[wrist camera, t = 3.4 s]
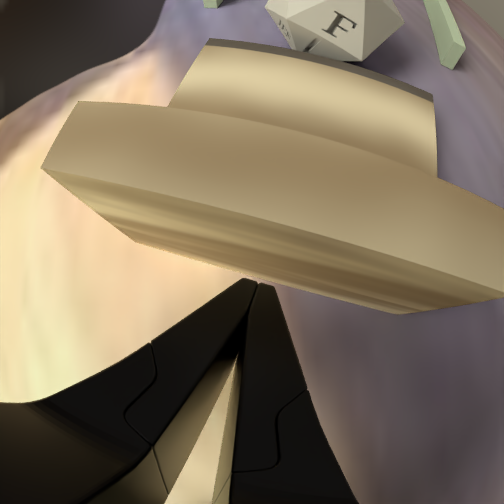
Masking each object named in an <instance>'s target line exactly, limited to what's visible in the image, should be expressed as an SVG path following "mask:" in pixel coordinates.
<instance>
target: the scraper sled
mask: <svg viewBox="0 0 504 504" xmlns="http://www.w3.org/2000/svg"><path fill="white" fill-rule="evenodd" d="M41 169H43V170H44V171H45V172H46V173H47V174H49V175H50V176H51V177H52V178H53V179H55V180H56V181H57V182H58V183H60V184H61V185H62V186H63V187H64V188H66V189H67V190H68V191H69V192H71V193H72V194H73V195H74V196H76V197H77V198H78V199H79V200H81V201H82V202H83V203H85V204H86V205H87V206H88V207H90V208H91V209H92V210H94V211H95V212H96V213H97V214H99V215H100V216H101V217H103V218H104V219H105V220H107V221H108V222H109V223H111V224H112V225H113V226H114V227H116V228H117V229H118V230H120V231H121V232H122V233H124V234H125V235H127V236H128V237H129V238H131V239H132V240H133V241H135V242H137V243H140V244H143V245H146V246H150V247H153V248H156V249H160V250H163V251H167V252H170V253H173V254H177V255H180V256H183V257H187V258H190V259H194V260H197V261H201V262H204V263H207V264H211V265H214V266H218V267H221V268H225V269H228V270H232V271H235V272H239V273H242V274H246V275H250V276H253V277H257V278H260V279H264V280H268V281H271V282H275V283H278V284H282V285H286V286H289V287H293V288H297V289H300V290H304V291H308V292H312V293H315V294H319V295H323V296H327V297H330V298H334V299H338V300H342V301H346V302H350V303H353V304H357V305H361V306H365V307H369V308H373V309H377V310H381V311H385V312H389V313H393V314H397V315H399V314H407V313H414V312H422V311H429V310H435V309H442V308H448V307H455V306H461V305H466V304H472V303H478V302H483V301H488V300H493V299H499V298H503V297H504V209H503V208H501V207H499V206H497V205H495V204H493V203H491V202H489V201H487V200H485V199H483V198H481V197H479V196H477V195H475V194H473V193H471V192H469V191H467V190H464V189H462V188H460V187H458V186H456V185H453V184H451V183H449V182H447V181H444V180H442V179H440V178H437V145H436V127H435V114H434V104H433V95H432V94H430V93H428V92H426V91H424V90H421V89H419V88H416V87H414V86H412V85H409V84H407V83H404V82H402V81H399V80H396V79H394V78H391V77H388V76H386V75H383V74H380V73H377V72H374V71H371V70H368V69H365V68H362V67H359V66H355V65H352V64H349V63H345V62H342V61H338V60H334V59H331V58H327V57H323V56H319V55H315V54H310V53H306V52H301V51H297V50H292V49H287V48H281V47H276V46H270V45H264V44H257V43H250V42H242V41H234V40H224V39H213V38H210V39H209V40H208V41H207V43H206V44H205V46H204V47H203V49H202V50H201V52H200V54H199V55H198V57H197V58H196V60H195V61H194V63H193V64H192V66H191V68H190V69H189V71H188V73H187V74H186V76H185V77H184V79H183V81H182V82H181V84H180V86H179V87H178V89H177V91H176V93H175V94H174V96H173V98H172V100H171V101H170V103H169V105H168V107H160V106H151V105H140V104H127V103H112V102H88V101H78V103H77V104H76V106H75V107H74V109H73V110H72V112H71V114H70V115H69V117H68V119H67V120H66V122H65V124H64V125H63V127H62V129H61V130H60V132H59V134H58V136H57V137H56V139H55V141H54V143H53V145H52V147H51V148H50V150H49V152H48V154H47V156H46V158H45V160H44V162H43V164H42V166H41Z"/></svg>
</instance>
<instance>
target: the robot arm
mask: <svg viewBox="0 0 504 504" xmlns="http://www.w3.org/2000/svg"><path fill="white" fill-rule="evenodd" d="M237 355H238V356H237ZM236 358H237V360H236ZM235 361H236V364H235V369H234V375H233V381H232V387H231V393H230V399H229V405H228V411H227V417H226V422H225V428H224V434H223V440H222V446H221V452H220V458H219V464H218V470H217V475H216V481H215V487H214V493H213V499H212V504H359V503H358V501H357V500H356V498H355V496H354V494H353V493H352V491H351V489H350V486H349V484H348V482H347V480H346V478H345V476H344V474H343V472H342V470H341V468H340V466H339V464H338V462H337V460H336V458H335V456H334V454H333V451H332V449H331V447H330V445H329V443H328V441H327V438H326V436H325V434H324V432H323V429H322V427H321V425H320V422H319V420H318V417H317V414H316V411H315V408H314V406H313V403H312V400H311V396H310V393H309V391H308V390H307V384H306V381H305V378H304V375H303V372H302V369H301V366H300V363H299V360H298V357H297V354H296V350H295V347H294V344H293V341H292V338H291V335H290V332H289V329H288V326H287V323H286V320H285V317H284V314H283V311H282V308H281V305H280V302H279V299H278V296H277V293H276V290H275V287H274V286H271V285H267V284H264V283H259V284H258V283H257V282H256V281H253V280H249V279H246V278H242V279H240V280H239V281H237V282H236V283H235V284H233V285H232V286H230V287H229V288H227V289H226V290H224V291H223V292H222V293H220V294H219V295H217V296H216V297H214V298H213V299H211V300H210V301H209V302H207V303H206V304H204V305H203V306H201V307H200V308H198V309H197V310H196V311H194V312H193V313H191V314H190V315H188V316H187V317H185V318H184V319H182V320H181V321H180V322H178V323H177V324H175V325H174V326H172V327H171V328H169V329H168V330H166V331H165V332H163V333H162V334H161V335H159V336H158V337H156V338H155V339H153V340H152V341H151V344H150V343H147V344H145V345H144V346H143V347H141V348H140V349H138V350H137V351H135V352H133V353H132V354H130V355H129V356H127V357H125V358H124V359H122V360H121V361H119V362H117V363H115V364H114V365H112V366H110V367H108V368H106V369H104V370H102V371H101V372H99V373H97V374H95V375H93V376H91V377H89V378H87V379H84V380H82V381H80V382H78V383H76V384H74V385H72V386H70V387H68V388H66V389H64V390H62V391H60V392H58V393H55V394H53V395H51V396H49V397H46V398H43V399H40V400H37V401H32V402H25V403H4V402H0V504H164V503H165V501H166V499H167V497H168V495H169V494H170V492H171V490H172V488H173V486H174V484H175V482H176V480H177V478H178V476H179V474H180V473H181V471H182V469H183V467H184V465H185V463H186V461H187V459H188V457H189V455H190V453H191V451H192V449H193V447H194V445H195V443H196V441H197V439H198V437H199V435H200V433H201V431H202V429H203V427H204V425H205V423H206V421H207V419H208V417H209V415H210V413H211V411H212V409H213V407H214V405H215V403H216V401H217V399H218V397H219V395H220V393H221V391H222V389H223V387H224V385H225V382H226V380H227V378H228V376H229V374H230V372H231V370H232V368H233V365H234V363H235Z"/></svg>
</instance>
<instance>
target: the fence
mask: <svg viewBox="0 0 504 504" xmlns="http://www.w3.org/2000/svg"><path fill="white" fill-rule="evenodd" d="M423 1H424V4H425V7H426V10H427V13H428V16H429V20H430V23H431V27H432V30H433V34H434V37H435V41H436V45H437V49H438V53H439V58H440V62H441V65H443V66H446V67H448V68H450V69H452V70H453V68H454V66H455V65H456V63H457V62H458V60H459V58H460V57H461V55H462V54H463V52H464V50H465V49H466V47H465V44H464V41H463V39H462V36H461V34H460V31H459V29H458V26H457V24H456V21H455V19H454V17H453V15H452V12H451V10H450V8H449V6H448V4H447V2H446V0H423ZM203 2H204V8H218V6H219V5H220V4H221V3H222V2H223V0H203Z"/></svg>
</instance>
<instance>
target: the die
mask: <svg viewBox="0 0 504 504" xmlns="http://www.w3.org/2000/svg"><path fill="white" fill-rule="evenodd" d="M265 8H266V10H267V11H268V13H269V14H270V15H271V17H272V18H273V20H274V22H275V23H276V25H277V26H278V28H279V29H280V31H281V32H282V34H283V35H284V37H285V39H286V40H287V42H288V43H289V45H290V47H291V48H292V50H297V51H301V52H306V53H310V54H315V55H319V56H323V57H327V58H331V59H334V60H338V61H363V60H364V59H365V58H367V57H368V56H369V55H370V54H371V53H372V52H373V51H374V50H375V49H376V48H377V47H378V46H380V45H381V44H382V43H383V42H384V41H385V40H386V39H387V38H388V37H389V36H391V35H392V34H393V33H394V32H395V31H396V30H397V29H398V28H400V27H401V26H402V25H403V24H404V23H405V22H404V20H403V18H402V17H401V15H400V13H399V11H398V10H397V8H396V6H395V4H394V3H393V1H392V0H268V2H267V4H266V6H265Z"/></svg>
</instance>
